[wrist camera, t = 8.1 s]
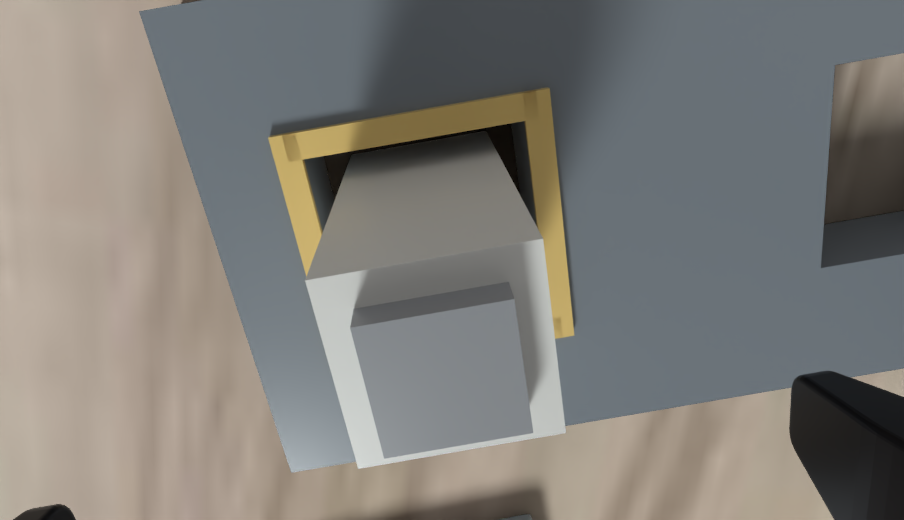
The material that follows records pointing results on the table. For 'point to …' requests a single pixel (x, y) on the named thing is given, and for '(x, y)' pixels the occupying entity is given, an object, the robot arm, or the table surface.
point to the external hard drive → (519, 517)
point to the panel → (557, 179)
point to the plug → (435, 304)
